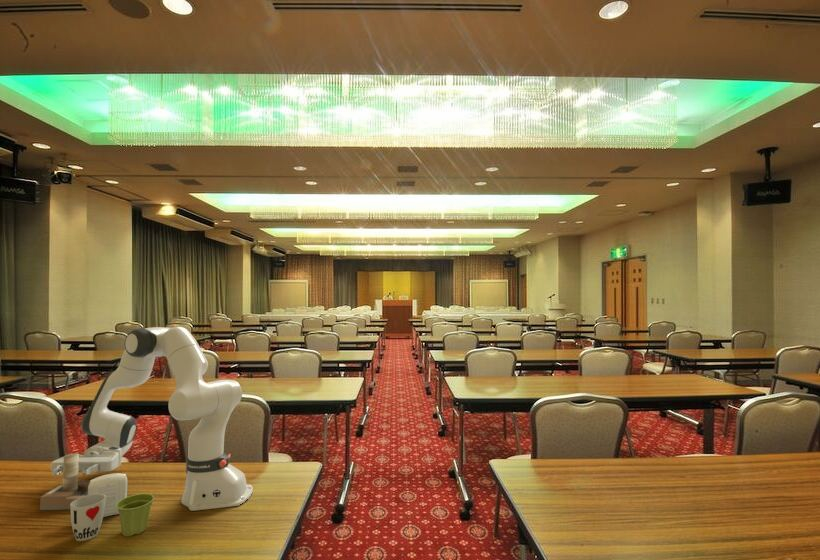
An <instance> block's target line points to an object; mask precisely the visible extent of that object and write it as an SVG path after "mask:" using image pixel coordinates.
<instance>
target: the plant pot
mask: <svg viewBox="0 0 820 560" xmlns="http://www.w3.org/2000/svg"><path fill="white" fill-rule="evenodd" d="M154 500H155V496H154V495H153V494H152V493H144V492H143V493H137V494H133V495H130V496H127V497H126V498H124V499H122V500H120V501H119V502H118V503H117V504H116V507H117V509H118V512H119V514H118V515H119V520H120V528H121V530H120V531H121V534H122V536H125V537H131V536H134V535H139V534H142V533H143V532H145V531H146V530H147V527H148V521H149V515H150V510H151V506H152V504H153V501H154Z"/></svg>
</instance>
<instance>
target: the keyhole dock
mask: <svg viewBox="0 0 820 560" xmlns="http://www.w3.org/2000/svg"><path fill="white" fill-rule="evenodd" d="M90 480H91V479H84V480H83V479H82V480H79V479H78V490H81V496H72V495H73V494H74V491H68V492H62V490H63V483H61V484H60V485H58V486H57V487H55V488H53V489H51V490H50V491H48V492H46V493H44V494H43V495H42V496H40V499H39V500H40V503H39V504H40V505H39V511H56V510H57V511H58V510H60V511H62V510H70V504H71V503H72V502H73V501H74V500H76V499H78V498H81V497H84V496H88V486H89V484H90Z"/></svg>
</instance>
